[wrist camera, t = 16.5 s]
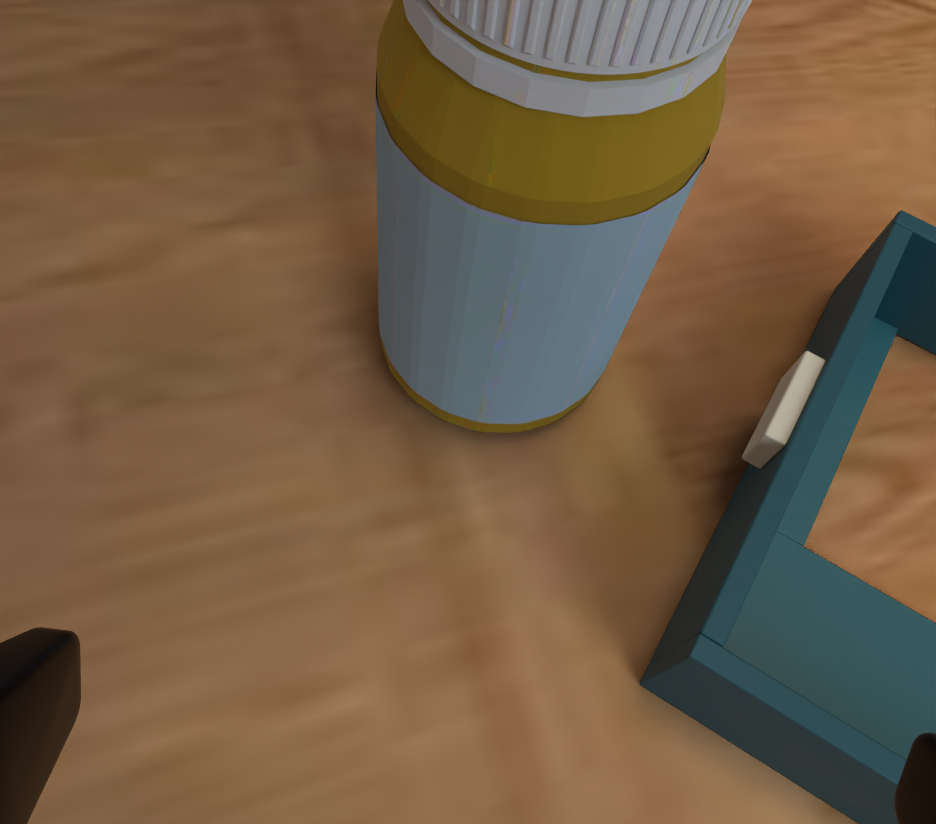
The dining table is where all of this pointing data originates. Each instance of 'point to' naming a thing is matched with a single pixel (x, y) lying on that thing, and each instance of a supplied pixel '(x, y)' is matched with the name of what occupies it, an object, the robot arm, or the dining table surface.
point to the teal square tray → (813, 569)
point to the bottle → (532, 188)
